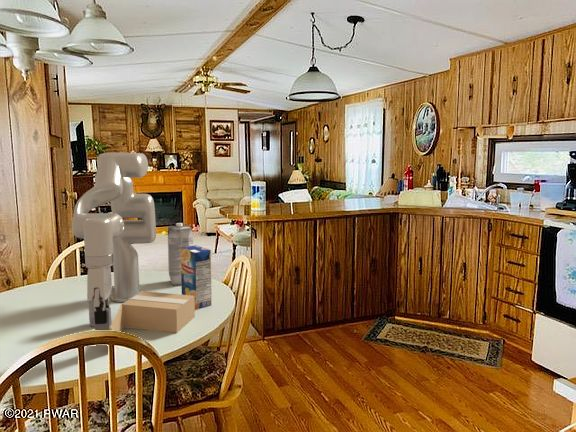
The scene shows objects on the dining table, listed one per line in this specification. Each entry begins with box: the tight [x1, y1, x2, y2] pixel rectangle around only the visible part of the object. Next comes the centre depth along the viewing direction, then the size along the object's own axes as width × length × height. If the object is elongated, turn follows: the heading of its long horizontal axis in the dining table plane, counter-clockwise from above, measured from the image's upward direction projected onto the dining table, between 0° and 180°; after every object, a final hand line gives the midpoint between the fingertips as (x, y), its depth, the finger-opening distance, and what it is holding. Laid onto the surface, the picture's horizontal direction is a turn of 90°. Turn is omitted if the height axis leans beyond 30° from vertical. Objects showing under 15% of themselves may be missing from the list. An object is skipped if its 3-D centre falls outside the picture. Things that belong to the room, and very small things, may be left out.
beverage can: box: [87, 298, 95, 328], centre depth 148 cm, size 6×6×15 cm
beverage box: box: [180, 244, 213, 310], centre depth 169 cm, size 7×11×22 cm, turn 42°
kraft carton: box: [121, 291, 196, 334], centre depth 151 cm, size 20×14×8 cm
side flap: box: [94, 305, 124, 332], centre depth 136 cm, size 19×5×13 cm, turn 12°
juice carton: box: [167, 222, 194, 286], centre depth 195 cm, size 9×10×27 cm
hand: (102, 320), depth 128 cm, fingers closed on side flap, 3 cm apart
